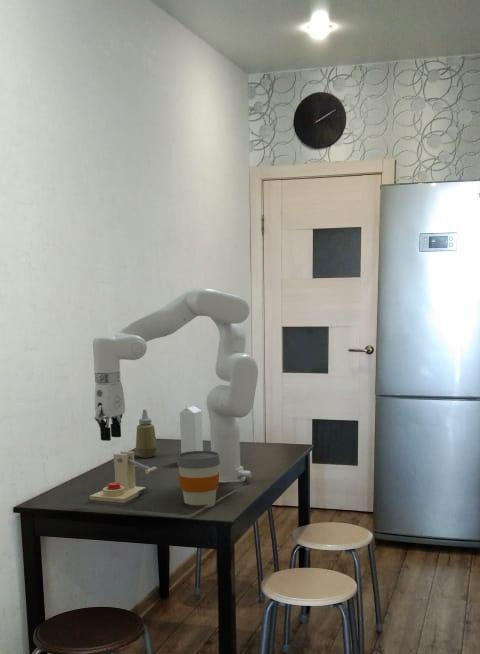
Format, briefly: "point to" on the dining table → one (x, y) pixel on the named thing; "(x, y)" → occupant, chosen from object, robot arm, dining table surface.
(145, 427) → the squeeze bottle
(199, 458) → the reusable coffee cup
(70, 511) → the dining table surface
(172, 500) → the dining table surface
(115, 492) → the control box
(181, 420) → the milk
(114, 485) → the button
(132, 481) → the switch bracket
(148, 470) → the switch lever
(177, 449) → the dining table surface
